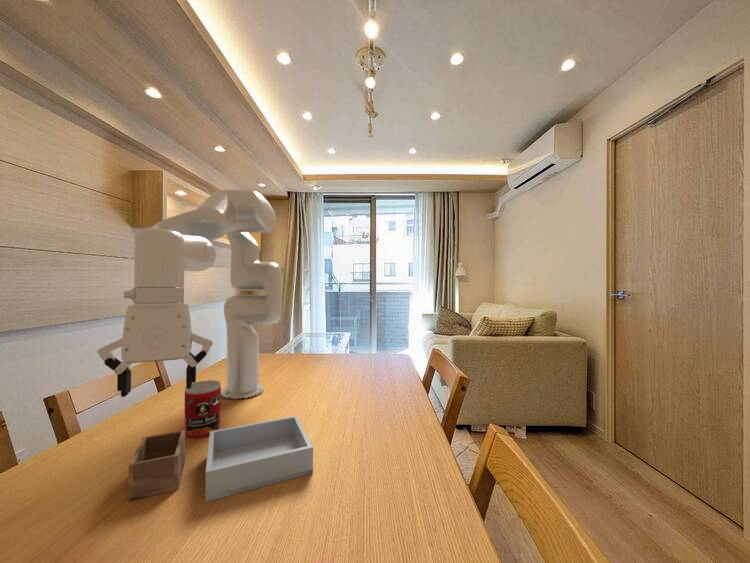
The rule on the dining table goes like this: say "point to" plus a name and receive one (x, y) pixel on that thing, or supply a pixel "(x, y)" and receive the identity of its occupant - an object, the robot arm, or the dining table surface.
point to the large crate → (256, 456)
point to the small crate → (156, 465)
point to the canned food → (202, 408)
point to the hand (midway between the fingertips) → (158, 390)
